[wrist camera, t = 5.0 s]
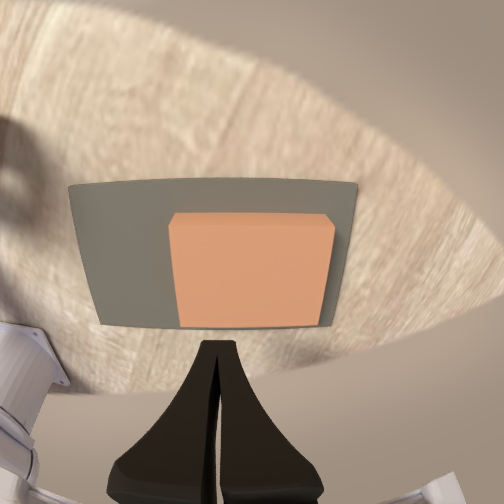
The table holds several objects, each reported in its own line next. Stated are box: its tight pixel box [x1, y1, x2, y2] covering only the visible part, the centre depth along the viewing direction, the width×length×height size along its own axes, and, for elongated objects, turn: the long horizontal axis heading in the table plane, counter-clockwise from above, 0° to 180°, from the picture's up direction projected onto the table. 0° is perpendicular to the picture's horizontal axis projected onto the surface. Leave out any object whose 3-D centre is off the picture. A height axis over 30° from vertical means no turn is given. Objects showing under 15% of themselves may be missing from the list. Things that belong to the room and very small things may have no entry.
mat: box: [68, 178, 358, 330], centre depth 19 cm, size 18×11×1 cm, turn 88°
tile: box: [168, 213, 335, 328], centre depth 18 cm, size 2×7×9 cm
